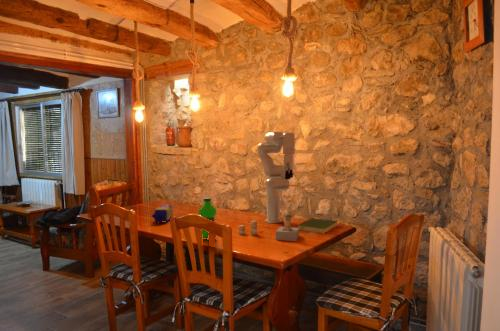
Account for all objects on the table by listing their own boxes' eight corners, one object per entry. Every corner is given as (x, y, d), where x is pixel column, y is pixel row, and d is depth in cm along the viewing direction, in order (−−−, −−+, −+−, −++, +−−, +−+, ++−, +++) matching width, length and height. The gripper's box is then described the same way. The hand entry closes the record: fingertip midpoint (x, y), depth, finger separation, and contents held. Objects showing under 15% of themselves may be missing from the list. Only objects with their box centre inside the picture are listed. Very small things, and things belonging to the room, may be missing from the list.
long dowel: (285, 236, 229) (284, 214, 228) (291, 237, 228) (291, 214, 227) (283, 238, 225) (283, 215, 224) (290, 238, 224) (290, 215, 223)
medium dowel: (251, 233, 237) (251, 221, 237) (257, 233, 236) (257, 221, 236) (250, 235, 234) (249, 222, 233) (256, 235, 233) (255, 222, 232)
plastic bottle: (217, 240, 222) (217, 198, 220) (200, 241, 219) (199, 199, 218) (215, 236, 231) (215, 196, 230) (198, 237, 229) (197, 197, 227)
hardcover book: (312, 223, 265) (312, 218, 265) (337, 226, 255) (337, 221, 255) (296, 230, 245) (296, 225, 244) (323, 234, 234) (323, 228, 234)
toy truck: (173, 217, 291) (173, 204, 290) (166, 224, 266) (165, 210, 266) (160, 217, 291) (160, 204, 291) (151, 224, 267) (151, 210, 266)
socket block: (279, 234, 234) (279, 226, 233) (299, 235, 230) (299, 227, 230) (275, 239, 222) (275, 231, 222) (296, 240, 219) (295, 232, 218)
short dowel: (239, 232, 240) (239, 225, 239) (245, 233, 239) (245, 225, 238) (237, 234, 236) (237, 226, 236) (243, 234, 235) (243, 226, 234)
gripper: (285, 151, 249) (285, 176, 250) (280, 152, 232) (280, 179, 233) (296, 151, 247) (296, 177, 248) (292, 152, 230) (292, 180, 231)
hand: (289, 178), depth 240 cm, fingers open, 9 cm apart
